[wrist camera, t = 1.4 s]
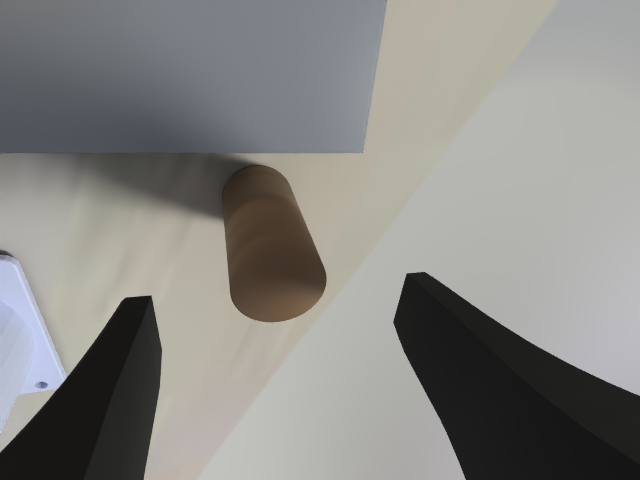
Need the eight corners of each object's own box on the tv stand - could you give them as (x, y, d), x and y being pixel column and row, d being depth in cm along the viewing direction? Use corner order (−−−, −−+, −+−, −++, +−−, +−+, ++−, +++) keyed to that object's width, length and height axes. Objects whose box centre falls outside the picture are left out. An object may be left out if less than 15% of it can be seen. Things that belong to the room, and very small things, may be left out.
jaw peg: (223, 229, 17) (231, 327, 12) (220, 166, 15) (228, 250, 11) (289, 225, 18) (321, 316, 13) (293, 165, 16) (331, 244, 11)
